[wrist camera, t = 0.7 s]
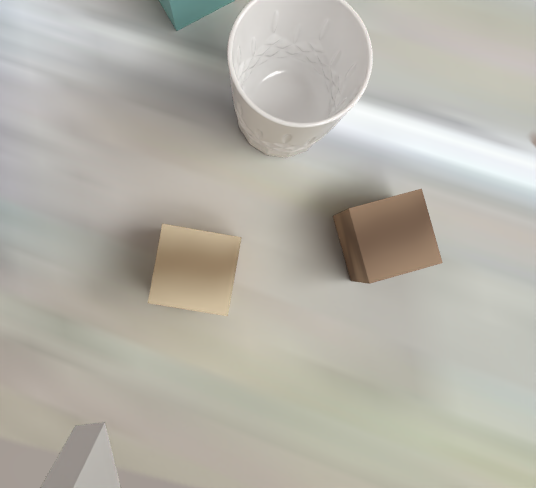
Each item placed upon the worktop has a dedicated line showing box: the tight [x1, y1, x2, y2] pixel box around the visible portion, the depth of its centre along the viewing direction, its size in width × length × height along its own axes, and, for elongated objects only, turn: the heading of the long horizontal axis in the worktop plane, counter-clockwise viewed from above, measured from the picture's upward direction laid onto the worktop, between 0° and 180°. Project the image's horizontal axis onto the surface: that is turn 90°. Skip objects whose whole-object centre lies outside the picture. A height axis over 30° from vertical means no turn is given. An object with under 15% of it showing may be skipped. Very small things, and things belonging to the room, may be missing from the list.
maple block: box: [148, 224, 241, 316], centre depth 32 cm, size 5×5×5 cm
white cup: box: [227, 0, 373, 158], centre depth 30 cm, size 8×8×10 cm
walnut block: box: [333, 189, 442, 283], centre depth 33 cm, size 5×5×5 cm
